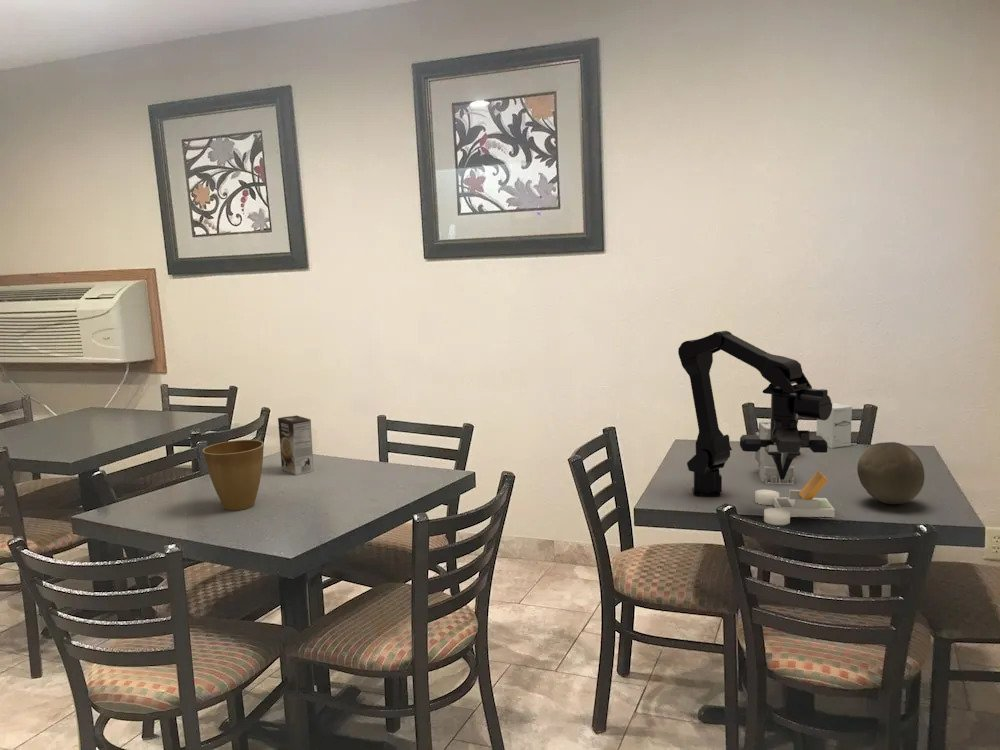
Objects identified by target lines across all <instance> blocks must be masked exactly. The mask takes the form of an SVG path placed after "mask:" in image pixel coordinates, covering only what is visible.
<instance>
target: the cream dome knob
mask: <svg viewBox="0 0 1000 750" xmlns="http://www.w3.org/2000/svg"><path fill="white" fill-rule="evenodd" d="M754 494H755V495H754V502H755V503H756V504H757V503H758V505H760V504H762V505H761V506H766V505H772V506H773V497H780V493H779V492H778V491H775V490H771V489H757V490H755V492H754Z"/></svg>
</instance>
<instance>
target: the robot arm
mask: <svg viewBox="0 0 1000 750" xmlns="http://www.w3.org/2000/svg"><path fill="white" fill-rule="evenodd" d="M719 351H723V352H725V353H726V354H728V355H730V356H732V357H733V358H736V359H737V360H739V361H741V362H743V363H745V364H747V365H748V366H750V367H753V368H754V369H756V371H758V372H759V373H760V375H761V376H762V377H763V379H765V380H766V381H768V383H769V384H768V385H767V387H766V388H764V389H763V390H762V394H766V395H767V394H769V395H771V396H770V398H771V399H770V401H771V403H770V422H771V426H770V439H760V438H759V437H758V435H755V434H742V435H741V436H740V438H739V447H740V448H741V450H742V451H743V452H747V453H748V452H751V453H752V452H754V453H755V452H757V451H758V450H760V449H761V447H765V451H766V452H767V454H768V455H772V458H773V460H774V462H775V465H776V469H777V472H778V475H779V478H780V480H784V478H785V476H786V473H787V471H788V469H789V466H790V464H791V462H792V461H793V459H794V460H795V458H797V456H801V455H802V453H801V451H800V450H801V449H802V448H803V449H804V448H805V449H807V448H809V450H810V451H811V452H812V453H816V454H817V453H828V450H829V449H828V448H829V447H828V444H827V442H826V441H825V440H824V439H823V438H822V437H821V436H816V435H810V432H809V430H799V429H798V424H797V414H798V417H801V418H807V419H813V420H817V419H818V420H827V419H828V418H829V416H830V414H831V411H832V403H833V402H832V399H831V397H830V395H829V394H828V392H829V391H828V389H824V388H821V389H817V388H816V389H815V388H813V386H812V385H811V383H810V382H809V380H808V378H807V377H806V375H805V374H804V372H803V368H802V364H801V363H800V362H799V361H798V360H796V359H793V358H790V357H787V356H782V355H778V354H777V355H776V354H772V353H769V352H766V351H765V350H763V349H761V348H759V347H758V346H756V345H754V344H751V343H750V342H748V341H746V340H743V339H742V338H740V337H738V336H736V335H734V334H732V332H730V331H728V330H721V331H720V330H719V331H716V332H713V333H712V334H709V335H707V336H703V337H701V338H698V339H692V340H691V339H690V340H684V341H683V342H682V343H681V344H680V346H679V347H678V351H677V352H678V353H677V354H678V357H679V361H680V363H681V364H680V365H681V366H682V368H683V369H684V371H685V372H686V373H687V375H688V377H689V379H690V387H691V391H692V392H691V393H692V397H693V398H692V399H693V404H694V409H695V416H696V422H697V427H698V428H697V429H698V434H697V437H696V441H695V455H693V456H692V457H691V458H690V459H689V460H688V461H687V462H686V465H687V468H688V469H687V470H688V471H690V472H693V473H692V474H693V475H692V476H693V477H692V478H693V479H692V480H693V482H692V484H693V486H692V488H691V489H692V493H693V496H695V497H698V496H699V497H700V496H701V497H704V496H705V497H721V493H722V488H723V485H722V484H723V482H722V481H723V477H722V474H721V473H720V469H723V468H724V467H725V465H726V462H727V461H728V460H729V458H730V457H731V451H733V448H732V447H731V444H730V443H731V442H730V436H729V434H725V435H724V434H723V433H722V431H721V430H720V427H719V421H718V417H717V411H716V405H715V400H714V399H715V398H714V395H713V393H714V392H713V387H712V380H711V376H710V375H711V374H710V373H711V369H712V365H713V361H714V359H713V358H714V357H713V354H715V353H718V352H719ZM774 443H776V444H774ZM782 453H783V459H782V461H781V456H782Z"/></svg>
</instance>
